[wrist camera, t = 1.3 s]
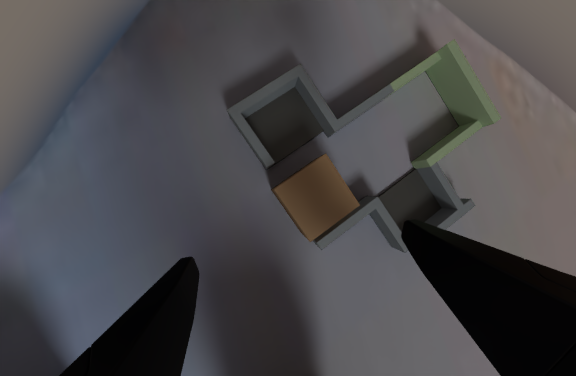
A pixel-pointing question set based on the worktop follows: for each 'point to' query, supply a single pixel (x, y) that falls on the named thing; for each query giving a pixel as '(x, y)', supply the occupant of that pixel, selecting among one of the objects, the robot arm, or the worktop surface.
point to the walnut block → (316, 197)
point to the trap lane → (318, 116)
